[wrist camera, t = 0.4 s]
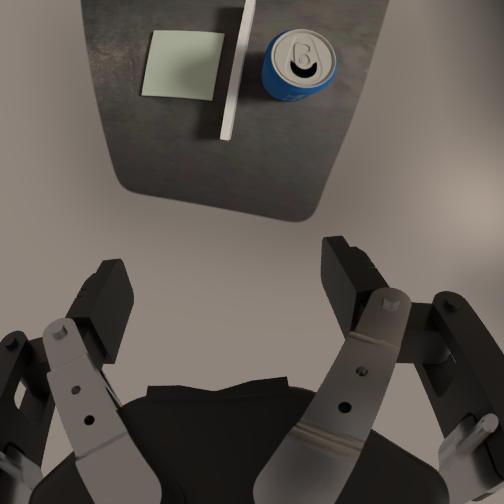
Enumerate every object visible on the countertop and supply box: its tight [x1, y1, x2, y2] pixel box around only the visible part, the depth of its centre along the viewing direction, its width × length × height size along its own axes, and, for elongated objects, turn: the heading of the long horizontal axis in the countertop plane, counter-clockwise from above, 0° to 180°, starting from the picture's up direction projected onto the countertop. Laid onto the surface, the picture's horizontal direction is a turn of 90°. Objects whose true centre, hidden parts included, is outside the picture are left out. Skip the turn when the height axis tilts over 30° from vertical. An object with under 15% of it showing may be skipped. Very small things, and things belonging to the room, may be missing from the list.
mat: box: [142, 31, 225, 101], centre depth 31 cm, size 9×9×1 cm
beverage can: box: [261, 29, 337, 102], centre depth 27 cm, size 6×6×12 cm
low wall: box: [220, 0, 255, 140], centre depth 31 cm, size 18×1×4 cm, turn 170°
